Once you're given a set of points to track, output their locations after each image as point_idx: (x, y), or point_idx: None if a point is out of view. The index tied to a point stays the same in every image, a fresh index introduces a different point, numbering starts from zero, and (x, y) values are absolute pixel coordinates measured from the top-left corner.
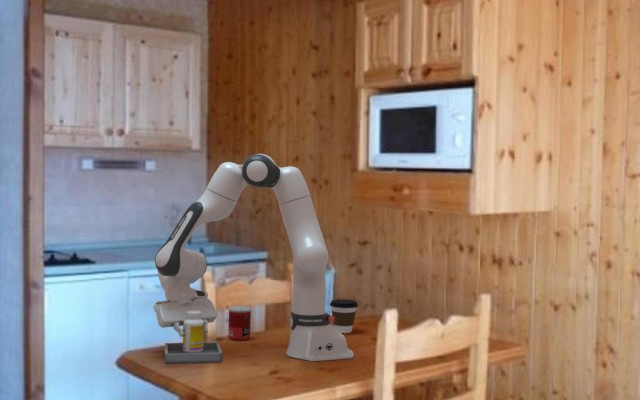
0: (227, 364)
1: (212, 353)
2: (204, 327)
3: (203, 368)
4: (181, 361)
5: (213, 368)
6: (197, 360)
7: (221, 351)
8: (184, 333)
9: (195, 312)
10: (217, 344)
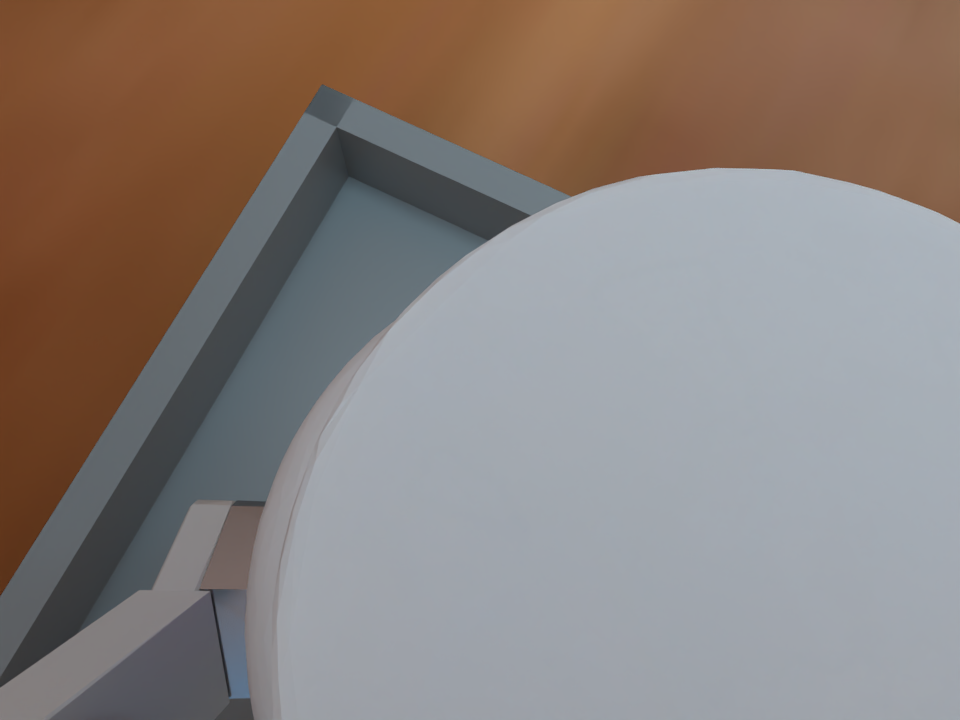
0: (330, 66)
1: (445, 140)
2: (235, 571)
3: (651, 63)
4: None
5: (555, 12)
6: None
7: (269, 171)
8: None
9: (786, 357)
10: (20, 612)
